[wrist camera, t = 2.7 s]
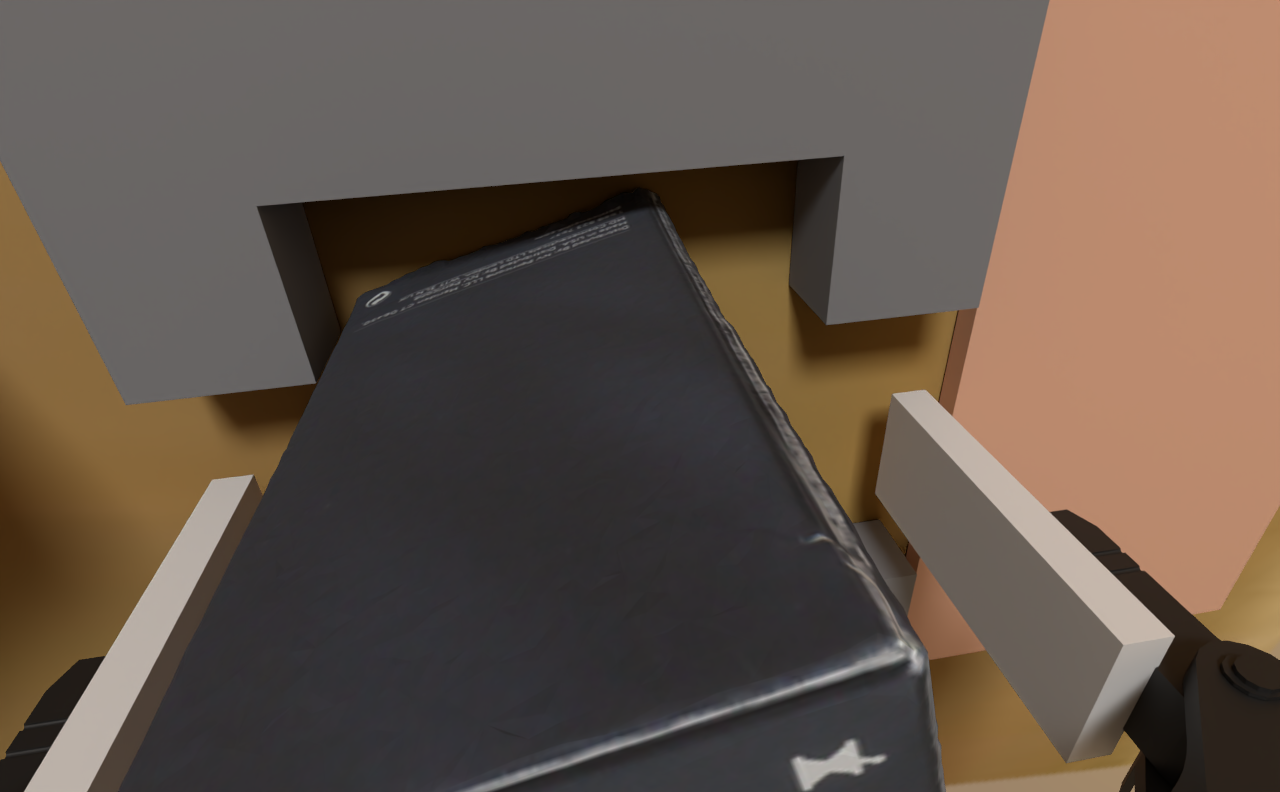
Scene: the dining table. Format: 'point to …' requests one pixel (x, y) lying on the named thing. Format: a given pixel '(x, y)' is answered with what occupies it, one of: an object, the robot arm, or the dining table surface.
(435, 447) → the small box
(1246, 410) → the terracotta tile
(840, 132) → the pocket insert
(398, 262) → the dining table surface
